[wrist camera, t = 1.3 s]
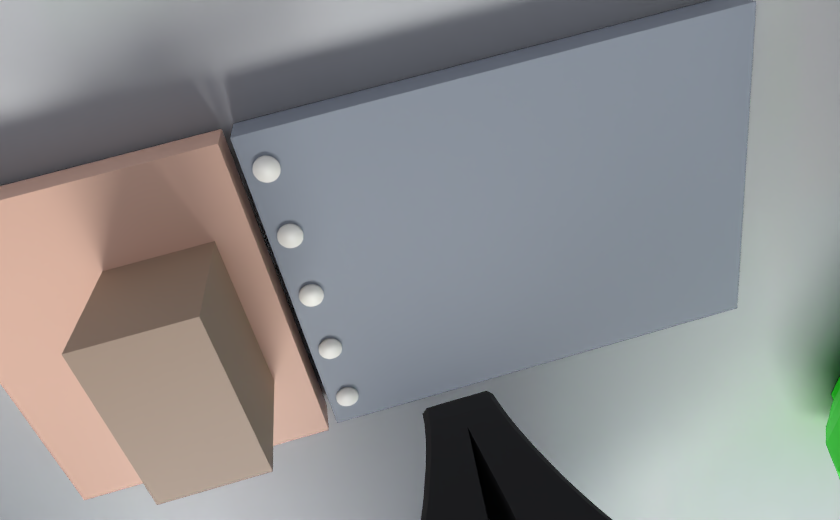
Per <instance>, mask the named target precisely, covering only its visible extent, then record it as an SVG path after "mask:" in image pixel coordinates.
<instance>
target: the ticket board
mask: <svg viewBox="0 0 840 520" xmlns="http://www.w3.org/2000/svg"><path fill="white" fill-rule="evenodd" d="M755 13H756V1H752V0H710V1H706V2H702V3H698V4H695V5H691V6H687V7H683V8H679V9H675V10H671V11H668V12H664V13H660V14H656V15H652V16H648V17H644V18H640V19H637V20H633V21H629V22H625V23H621V24H617V25H613V26H609V27H606V28H602V29H598V30H594V31H590V32H586V33H582V34H579V35H575V36H571V37H567V38H563V39H559V40H555V41H551V42H548V43H544V44H540V45H536V46H532V47H528V48H524V49H521V50H517V51H513V52H509V53H505V54H501V55H497V56H493V57H490V58H486V59H482V60H478V61H474V62H470V63H466V64H463V65H459V66H455V67H451V68H447V69H443V70H439V71H435V72H432V73H428V74H424V75H420V76H416V77H412V78H408V79H404V80H401V81H397V82H393V83H389V84H385V85H381V86H377V87H374V88H370V89H366V90H362V91H358V92H354V93H350V94H346V95H343V96H339V97H335V98H331V99H327V100H323V101H319V102H316V103H312V104H308V105H304V106H300V107H296V108H292V109H288V110H285V111H281V112H277V113H273V114H269V115H265V116H261V117H258V118H254V119H250V120H246V121H242V122H238V123H234V124H233V128H232V132H231V137H230V139H231V142H232V144H233V147H234V150H235V152H236V155H237V158H238V160H239V163H240V166H241V168H242V171H243V174H244V176H245V179H246V182H247V184H248V187H249V190H250V192H251V195H252V197H253V200H254V203H255V205H256V208H257V211H258V213H259V216H260V219H261V221H262V224H263V227H264V229H265V232H266V235H267V237H268V240H269V243H270V245H271V248H272V251H273V253H274V256H275V259H276V261H277V264H278V267H279V269H280V272H281V275H282V277H283V280H284V283H285V285H286V288H287V291H288V293H289V296H290V299H291V301H292V304H293V307H294V309H295V312H296V314H297V317H298V320H299V322H300V325H301V328H302V330H303V333H304V336H305V338H306V341H307V344H308V346H309V349H310V352H311V354H312V357H313V360H314V362H315V365H316V368H317V370H318V373H319V376H320V378H321V381H322V384H323V386H324V389H325V392H326V394H327V397H328V400H329V402H330V405H331V408H332V410H333V413H334V416H335V418H336V421H337V423H339V422H343V421H346V420H350V419H353V418H356V417H360V416H363V415H367V414H370V413H374V412H377V411H381V410H384V409H388V408H391V407H395V406H398V405H402V404H405V403H409V402H412V401H416V400H419V399H423V398H426V397H430V396H433V395H436V394H440V393H443V392H447V391H450V390H454V389H457V388H461V387H464V386H468V385H471V384H475V383H478V382H482V381H485V380H489V379H492V378H496V377H499V376H503V375H506V374H510V373H513V372H516V371H520V370H523V369H527V368H530V367H534V366H537V365H541V364H544V363H548V362H551V361H555V360H558V359H562V358H565V357H569V356H572V355H576V354H579V353H583V352H586V351H589V350H593V349H596V348H600V347H603V346H607V345H610V344H614V343H617V342H621V341H624V340H628V339H631V338H635V337H638V336H642V335H645V334H649V333H652V332H656V331H659V330H663V329H666V328H669V327H673V326H676V325H680V324H683V323H687V322H690V321H694V320H697V319H701V318H704V317H708V316H711V315H715V314H718V313H722V312H725V311H729V310H732V309H736V308H737V301H738V285H739V269H740V253H741V237H742V221H743V205H744V189H745V173H746V157H747V141H748V125H749V109H750V93H751V77H752V61H753V45H754V29H755Z"/></svg>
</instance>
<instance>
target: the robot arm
mask: <svg viewBox="0 0 840 520" xmlns="http://www.w3.org/2000/svg"><path fill="white" fill-rule="evenodd" d="M423 418H424V424H425V433H426V473H425V486H424V500H423V509H422V516H421V520H612V519H611V518H610V517H608V516H607V515H606V514H605V513H604V512H602V511H601V510H600V509H599V508H598V507H597V506H595V505H594V504H593V503H592V502H591V501H590V500H589V499H587V498H586V497H585V496H584V495H583V494H582V493H581V492H580V491H579V490H578V489H576V488H575V487H574V486H573V485H572V484H571V483H570V482H569V481H568V480H567V479H566V478H565V477H564V476H563V475H562V474H561V473H560V472H559V471H558V470H556V469H555V467H554V466H553V465H552V464H551V463H550V462H549V461H548V460H547V459H546V458H545V457H544V456H543V455H542V454H541V453H540V452H539V451H538V450H537V449H536V448H535V447H534V446H533V444H532V443H531V442H530V441H529V440H528V439H527V438H526V437H525V435H524V434H523V433H522V432H521V431H520V430H519V428H518V427H517V426H516V425H515V424H514V422H513V421H512V420H511V419H510V417H509V416H508V415H507V414H506V412H505V411H504V410H503V408H502V407H501V405H500V404H499V403H498V401H497V400H496V398H495V397H494V395H493V394H492V393H490V392H488V391H485V392H481V393H478V394H474V395H471V396H467V397H464V398H460V399H457V400H453V401H450V402H446V403H443V404H439V405H436V406H433V407H429V408H427V409H426V410H425V411H424V413H423Z"/></svg>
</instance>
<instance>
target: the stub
mask: <svg viewBox="0 0 840 520" xmlns="http://www.w3.org/2000/svg"><path fill="white" fill-rule="evenodd" d="M0 384H1V385H2V387H3V388H4V389H5V391H6V392H7V394H8V395H9V396H10V398H11V399H12V400H13V402H14V403H15V405H16V406H17V407H18V409H19V410H20V412H21V413H22V414H23V416H24V417H25V418H26V420H27V421H28V423H29V424H30V425H31V427H32V428H33V430H34V431H35V432H36V434H37V435H38V437H39V438H40V439H41V441H42V442H43V443H44V445H45V446H46V448H47V449H48V450H49V452H50V453H51V455H52V456H53V457H54V459H55V460H56V461H57V463H58V464H59V466H60V467H61V468H62V470H63V471H64V473H65V474H66V475H67V477H68V478H69V480H70V481H71V482H72V484H73V485H74V486H75V488H76V489H77V491H78V492H79V493H80V495H81V496H82V498H83V499H84V500H87V499H90V498H94V497H97V496H101V495H104V494H108V493H111V492H115V491H118V490H122V489H125V488H129V487H132V486H136V485H139V484H144V485H145V487H146V488H147V490H148V491H149V493H150V495H151V496H152V498H153V499H154V501H155V502H156V504H157V505H159V504H162V503H165V502H169V501H172V500H176V499H179V498H183V497H186V496H190V495H193V494H197V493H200V492H203V491H207V490H210V489H214V488H217V487H221V486H224V485H228V484H231V483H234V482H238V481H241V480H245V479H248V478H252V477H255V476H259V475H262V474H265V473H269V472H272V471H273V446H275V445H278V444H281V443H285V442H288V441H292V440H295V439H299V438H302V437H306V436H309V435H313V434H316V433H320V432H323V431H327V430H329V426H328V415H327V405H326V402H325V399H324V397H323V394H322V391H321V389H320V386H319V383H318V381H317V378H316V376H315V373H314V370H313V368H312V365H311V362H310V360H309V357H308V355H307V352H306V349H305V347H304V344H303V341H302V339H301V336H300V334H299V331H298V328H297V326H296V323H295V320H294V318H293V315H292V312H291V310H290V307H289V305H288V302H287V299H286V297H285V294H284V291H283V289H282V286H281V284H280V281H279V278H278V276H277V273H276V270H275V268H274V265H273V263H272V260H271V257H270V255H269V252H268V249H267V247H266V244H265V241H264V239H263V236H262V234H261V231H260V228H259V226H258V223H257V220H256V218H255V215H254V213H253V210H252V207H251V205H250V202H249V199H248V197H247V194H246V192H245V189H244V186H243V184H242V181H241V178H240V176H239V173H238V170H237V168H236V165H235V163H234V160H233V157H232V155H231V152H230V149H229V147H228V144H227V142H226V139H225V136H224V134H223V131H222V129H219V130H216V131H212V132H208V133H204V134H200V135H196V136H192V137H188V138H185V139H181V140H177V141H173V142H169V143H165V144H161V145H158V146H154V147H150V148H146V149H142V150H138V151H134V152H130V153H127V154H123V155H119V156H115V157H111V158H107V159H103V160H100V161H96V162H92V163H88V164H84V165H80V166H76V167H72V168H69V169H65V170H61V171H57V172H53V173H49V174H45V175H42V176H38V177H34V178H30V179H26V180H22V181H18V182H15V183H11V184H7V185H3V186H0Z"/></svg>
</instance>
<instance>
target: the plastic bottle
mask: <svg viewBox="0 0 840 520" xmlns="http://www.w3.org/2000/svg"><path fill="white" fill-rule="evenodd" d="M831 395H832V398H833V403H832V405H831V410H830V415H829V419H828V422H827V425H826V445H827V448H828V450H829V453H830V456H831V458H832V461H833V463H834V466H835V468H836V471H837V473H838V476H839V478H840V377H839V379H838V381H837V383H836V385H835V387H834V389H833V391H832V394H831Z"/></svg>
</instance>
